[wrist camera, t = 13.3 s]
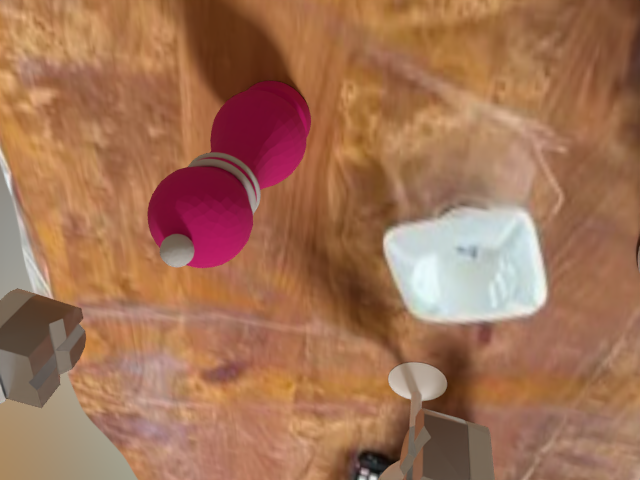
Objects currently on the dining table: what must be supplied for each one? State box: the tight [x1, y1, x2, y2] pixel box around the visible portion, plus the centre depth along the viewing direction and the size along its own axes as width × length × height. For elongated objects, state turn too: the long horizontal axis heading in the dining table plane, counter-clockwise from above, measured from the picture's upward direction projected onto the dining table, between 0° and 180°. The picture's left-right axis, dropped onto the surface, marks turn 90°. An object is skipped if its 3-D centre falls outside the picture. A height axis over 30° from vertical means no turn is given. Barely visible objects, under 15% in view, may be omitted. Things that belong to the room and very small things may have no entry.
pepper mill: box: [148, 81, 311, 268], centre depth 33 cm, size 7×7×20 cm
